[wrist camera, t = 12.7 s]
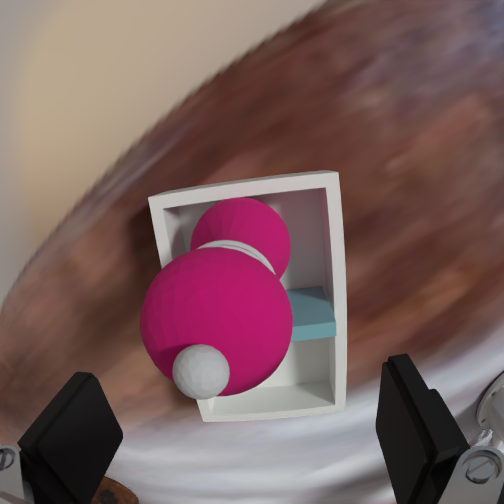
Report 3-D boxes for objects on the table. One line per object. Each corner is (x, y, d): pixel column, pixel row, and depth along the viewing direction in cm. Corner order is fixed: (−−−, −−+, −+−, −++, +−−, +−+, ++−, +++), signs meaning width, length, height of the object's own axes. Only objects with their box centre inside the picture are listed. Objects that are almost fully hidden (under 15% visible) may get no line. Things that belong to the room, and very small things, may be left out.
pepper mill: (187, 241, 28) (59, 383, 9) (235, 174, 27) (150, 211, 7) (253, 289, 29) (228, 483, 10) (304, 226, 27) (374, 370, 8)
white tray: (337, 380, 33) (345, 410, 28) (210, 391, 34) (203, 421, 29) (326, 170, 27) (338, 172, 22) (167, 191, 28) (148, 197, 23)
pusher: (324, 332, 30) (336, 374, 23) (208, 343, 31) (194, 386, 24) (322, 285, 29) (336, 321, 22) (198, 299, 30) (180, 336, 23)
